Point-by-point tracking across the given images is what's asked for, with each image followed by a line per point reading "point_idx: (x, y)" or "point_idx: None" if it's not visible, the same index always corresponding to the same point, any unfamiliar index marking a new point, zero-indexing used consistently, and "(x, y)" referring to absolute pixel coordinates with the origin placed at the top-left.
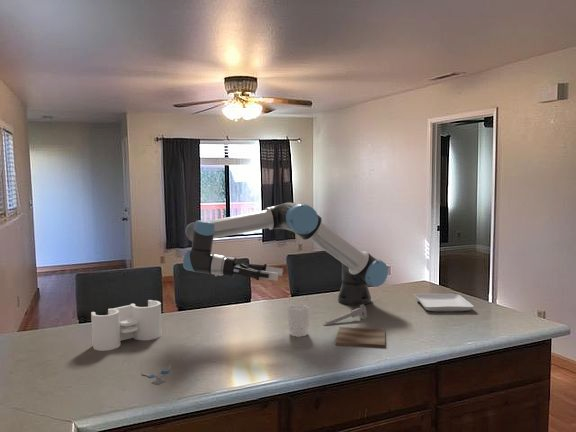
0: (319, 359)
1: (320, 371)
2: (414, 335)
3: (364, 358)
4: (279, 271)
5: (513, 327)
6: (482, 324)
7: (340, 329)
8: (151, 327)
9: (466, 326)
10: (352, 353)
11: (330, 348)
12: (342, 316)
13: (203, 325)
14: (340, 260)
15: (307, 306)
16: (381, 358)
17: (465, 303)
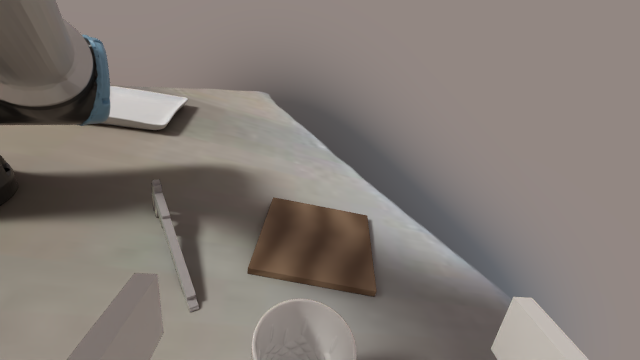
0: (487, 342)
1: None
2: (294, 176)
3: (433, 257)
4: (145, 328)
5: (261, 109)
6: (245, 118)
7: (272, 268)
8: None
9: (252, 129)
10: (415, 271)
11: (402, 310)
12: (178, 244)
13: None
14: (23, 58)
15: (284, 303)
16: (420, 235)
17: (155, 97)
